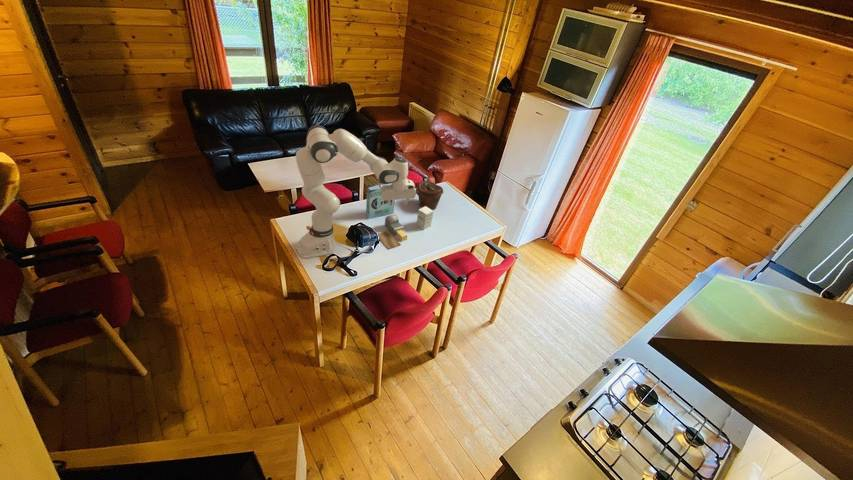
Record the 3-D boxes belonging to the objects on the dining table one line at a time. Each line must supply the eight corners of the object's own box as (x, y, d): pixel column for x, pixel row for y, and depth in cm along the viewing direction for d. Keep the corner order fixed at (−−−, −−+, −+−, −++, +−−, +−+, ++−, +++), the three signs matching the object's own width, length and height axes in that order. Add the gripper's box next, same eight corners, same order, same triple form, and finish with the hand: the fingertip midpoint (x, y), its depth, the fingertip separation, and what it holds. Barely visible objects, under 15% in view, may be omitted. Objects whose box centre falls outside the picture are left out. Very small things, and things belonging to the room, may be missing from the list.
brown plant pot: (415, 197, 275) (418, 176, 264) (441, 202, 275) (445, 181, 264) (411, 209, 261) (414, 188, 250) (439, 215, 261) (443, 193, 250)
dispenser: (402, 233, 237) (404, 221, 231) (394, 236, 234) (395, 224, 228) (393, 223, 244) (394, 212, 239) (384, 226, 241) (385, 214, 235)
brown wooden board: (388, 249, 223) (388, 248, 222) (375, 235, 232) (375, 234, 232) (400, 245, 227) (400, 244, 227) (387, 231, 237) (387, 230, 237)
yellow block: (406, 240, 233) (407, 235, 230) (401, 241, 231) (402, 236, 228) (396, 229, 240) (397, 225, 238) (391, 231, 238) (391, 226, 235)
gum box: (390, 209, 258) (393, 181, 244) (394, 213, 254) (396, 184, 241) (365, 215, 248) (366, 186, 234) (368, 219, 245) (370, 190, 231)
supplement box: (415, 224, 247) (418, 209, 239) (423, 221, 252) (425, 205, 244) (423, 230, 243) (426, 214, 236) (431, 226, 248) (433, 210, 240)
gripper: (382, 188, 204) (382, 209, 213) (417, 185, 210) (415, 205, 219) (380, 182, 208) (379, 203, 217) (414, 180, 214) (412, 200, 223)
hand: (398, 204), depth 218 cm, fingers open, 8 cm apart
